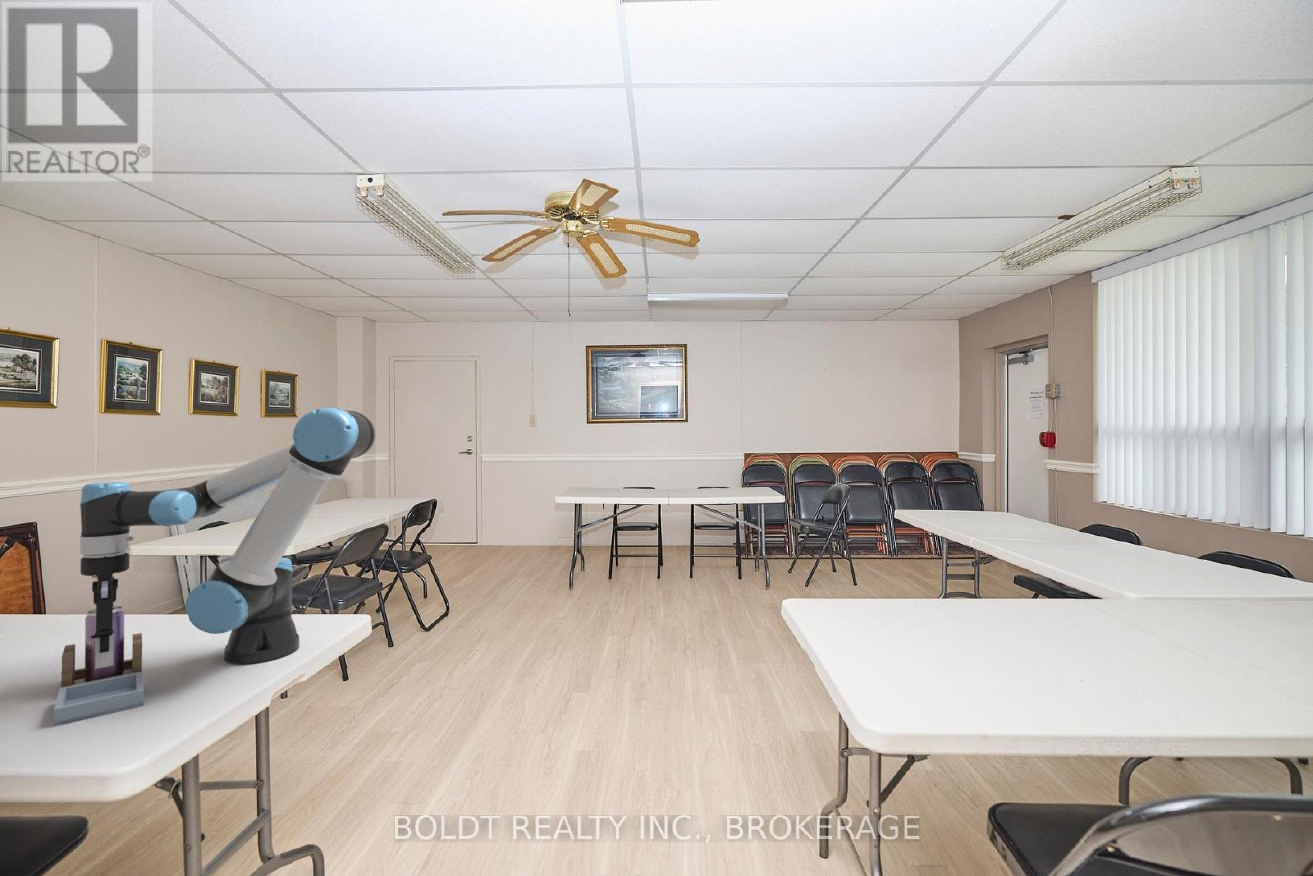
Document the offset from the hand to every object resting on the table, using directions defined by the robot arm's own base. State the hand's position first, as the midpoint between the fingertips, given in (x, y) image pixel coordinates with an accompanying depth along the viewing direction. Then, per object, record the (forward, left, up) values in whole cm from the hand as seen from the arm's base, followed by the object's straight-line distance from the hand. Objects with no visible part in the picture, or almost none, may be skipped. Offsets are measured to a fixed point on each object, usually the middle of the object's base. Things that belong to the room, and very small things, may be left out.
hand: (104, 661), depth 121 cm
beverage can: (0, 0, -4) cm, 4 cm away
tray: (-12, +8, -4) cm, 15 cm away
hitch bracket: (0, 0, -4) cm, 4 cm away
